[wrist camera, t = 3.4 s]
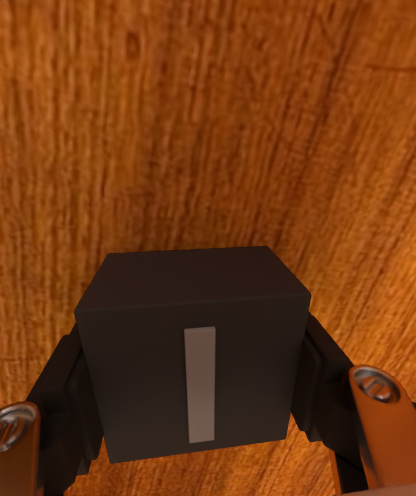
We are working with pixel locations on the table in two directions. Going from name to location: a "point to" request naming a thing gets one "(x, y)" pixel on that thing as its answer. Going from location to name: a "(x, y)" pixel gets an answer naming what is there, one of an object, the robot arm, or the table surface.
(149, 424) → the pad
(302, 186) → the table surface
